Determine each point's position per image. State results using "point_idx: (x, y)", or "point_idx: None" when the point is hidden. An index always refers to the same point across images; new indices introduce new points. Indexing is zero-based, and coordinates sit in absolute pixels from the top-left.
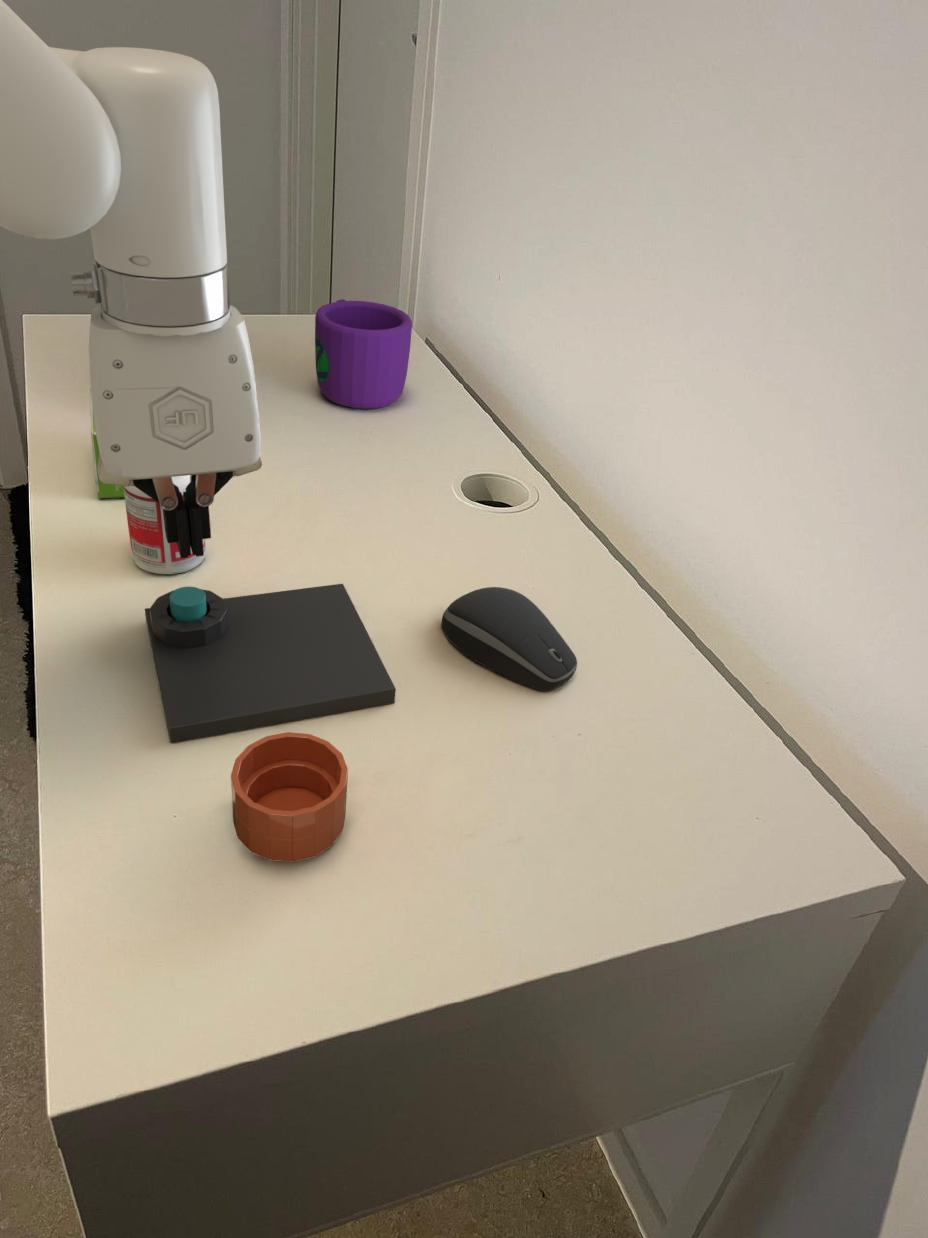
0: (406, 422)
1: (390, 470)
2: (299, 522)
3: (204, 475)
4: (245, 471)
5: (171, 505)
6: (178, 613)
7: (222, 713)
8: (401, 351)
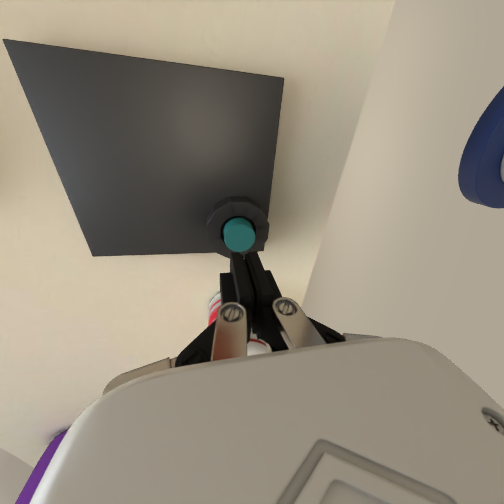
0: (48, 420)
1: (58, 380)
2: (137, 332)
3: (234, 355)
4: (147, 369)
5: (280, 303)
6: (249, 224)
7: (232, 80)
8: (25, 492)
